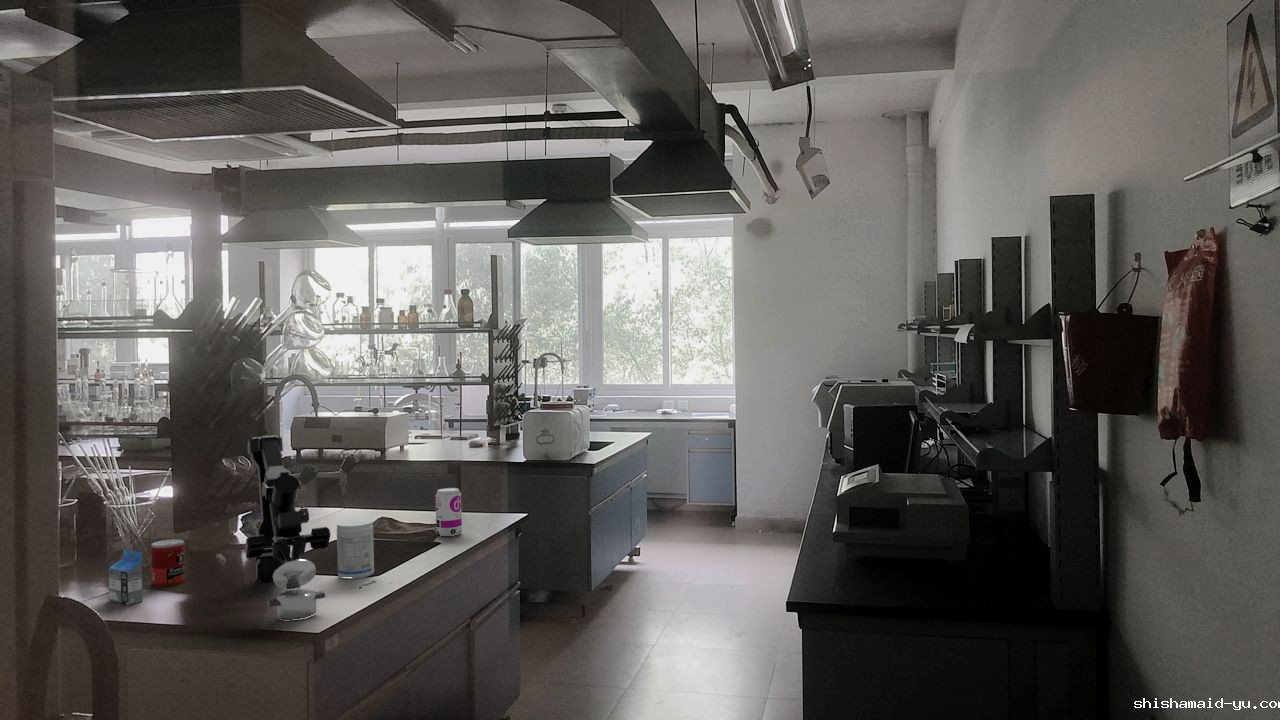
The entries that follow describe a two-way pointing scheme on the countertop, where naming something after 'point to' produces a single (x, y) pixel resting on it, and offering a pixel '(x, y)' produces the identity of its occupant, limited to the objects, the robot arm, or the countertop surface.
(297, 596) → the pot
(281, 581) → the lid
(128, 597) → the blue and grey carton
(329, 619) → the countertop surface
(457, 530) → the supplement can
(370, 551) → the supplement tub
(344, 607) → the countertop surface
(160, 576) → the canned food
